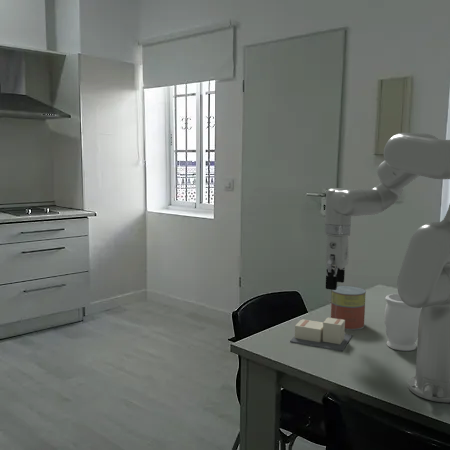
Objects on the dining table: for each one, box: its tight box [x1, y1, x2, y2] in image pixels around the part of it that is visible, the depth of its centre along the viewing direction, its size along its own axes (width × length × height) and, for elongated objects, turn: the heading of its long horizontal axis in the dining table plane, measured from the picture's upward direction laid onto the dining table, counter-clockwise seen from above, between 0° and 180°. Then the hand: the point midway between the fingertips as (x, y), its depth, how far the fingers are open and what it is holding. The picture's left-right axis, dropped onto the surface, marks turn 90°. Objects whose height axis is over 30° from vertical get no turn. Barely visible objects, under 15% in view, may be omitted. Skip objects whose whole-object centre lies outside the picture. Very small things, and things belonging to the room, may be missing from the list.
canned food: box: [330, 285, 367, 331], centre depth 168 cm, size 11×11×12 cm
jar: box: [383, 293, 422, 352], centre depth 148 cm, size 11×10×15 cm
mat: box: [289, 333, 353, 352], centre depth 155 cm, size 14×16×1 cm
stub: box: [323, 317, 346, 344], centre depth 152 cm, size 6×5×6 cm
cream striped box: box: [294, 318, 324, 342], centre depth 156 cm, size 7×8×4 cm
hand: (335, 285), depth 151 cm, fingers open, 9 cm apart
